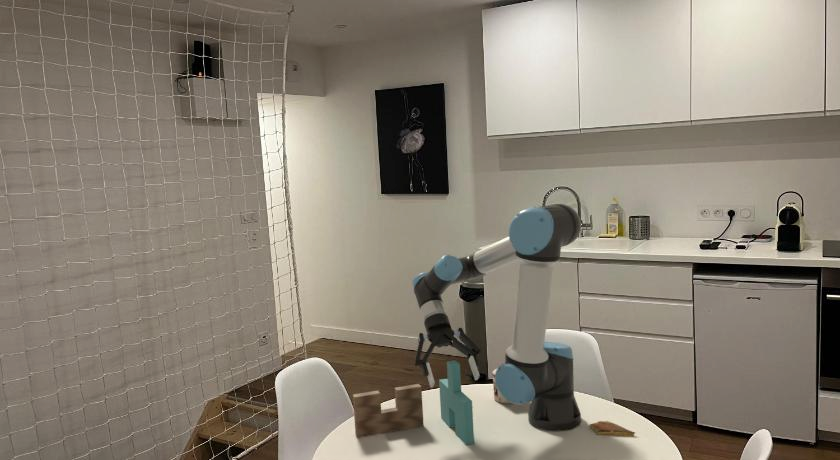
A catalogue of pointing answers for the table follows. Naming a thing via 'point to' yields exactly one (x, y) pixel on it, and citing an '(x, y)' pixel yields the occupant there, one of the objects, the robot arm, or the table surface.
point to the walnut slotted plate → (388, 411)
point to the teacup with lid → (497, 393)
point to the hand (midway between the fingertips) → (455, 381)
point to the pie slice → (610, 429)
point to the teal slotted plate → (456, 404)
